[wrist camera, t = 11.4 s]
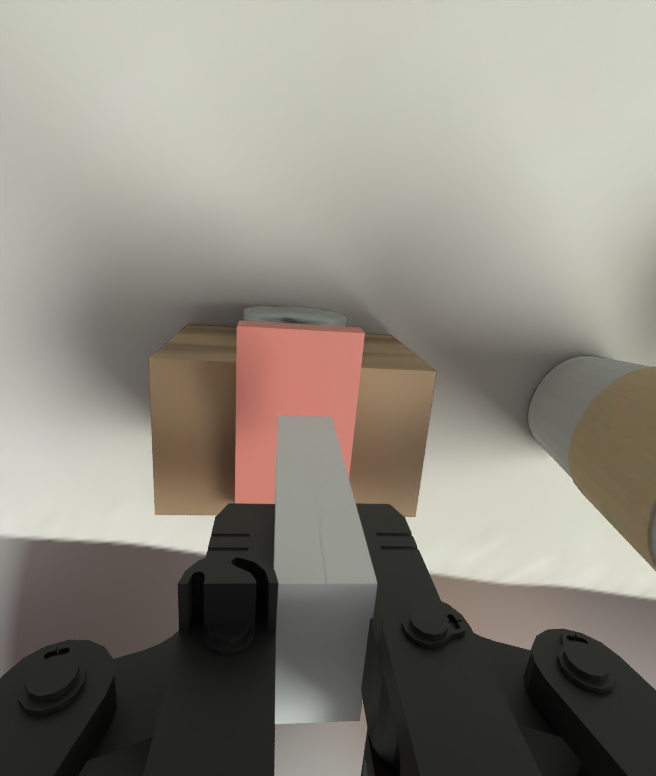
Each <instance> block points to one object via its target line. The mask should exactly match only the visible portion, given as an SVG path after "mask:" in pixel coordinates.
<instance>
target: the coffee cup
mask: <svg viewBox="0 0 656 776" xmlns="http://www.w3.org/2000/svg"><path fill="white" fill-rule="evenodd" d="M528 423H529V428H530V430H531V433H532V435H533V436H534V438H535V439H536V440H537V442H538V443H539V444H540V445H541V446H542V447H543V448H544V449H545V450H546V451H547V453H548V454H549V455H550V456H551V457H552V458H553V459H554V460H555V461H556V462H557V463H558V464H559V465H560V466H561V467H562V468H563V469H564V470H565V471H566V472H567V473H568V475H569V476H570V477H571V478H572V479H573V482H574V483H575V485H576V486H577V487H578V489H579V490H580V491H581V493H582V494H583V495H584V496H585V497H586V498H587V499H588V500H589V501H590V502H591V503H592V504H593V505H594V507H595V508H596V509H597V510H598V511H599V512H600V513H601V514H602V515H603V516H604V517H605V518H606V519H607V520H608V521H609V522H610V523H611V524H612V525H613V527H614V528H615V529H616V530H617V531H618V532H619V533H620V534H621V535H622V536H623V537H624V538H625V539H626V540H627V541H628V542H629V543H630V544H631V545H632V547H633V548H634V549H635V550H636V551H637V552H638V553H639V554H640V555H641V556H642V557H643V558H644V559H645V560H646V561H647V562H648V563H649V564H650V566H651V567H652V568H653V569H654V570H655V571H656V367H649V366H643V365H638V364H633V363H628V362H622V361H617V360H612V359H607V358H602V357H595V356H578V357H574V358H570V359H568V360H566V361H564V362H562V363H560V364H558V365H557V366H556V367H555V368H553V369H552V370H551V371H550V372H549V373H548V374H547V375H546V376H545V377H544V378H543V380H542V381H541V382H540V384H539V385H538V387H537V388H536V391H535V393H534V395H533V397H532V399H531V403H530V406H529V412H528Z"/></svg>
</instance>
